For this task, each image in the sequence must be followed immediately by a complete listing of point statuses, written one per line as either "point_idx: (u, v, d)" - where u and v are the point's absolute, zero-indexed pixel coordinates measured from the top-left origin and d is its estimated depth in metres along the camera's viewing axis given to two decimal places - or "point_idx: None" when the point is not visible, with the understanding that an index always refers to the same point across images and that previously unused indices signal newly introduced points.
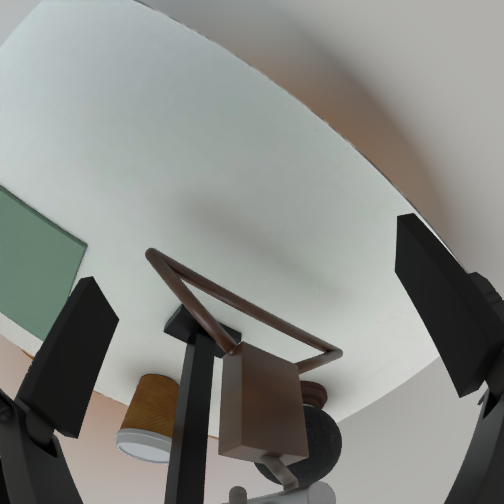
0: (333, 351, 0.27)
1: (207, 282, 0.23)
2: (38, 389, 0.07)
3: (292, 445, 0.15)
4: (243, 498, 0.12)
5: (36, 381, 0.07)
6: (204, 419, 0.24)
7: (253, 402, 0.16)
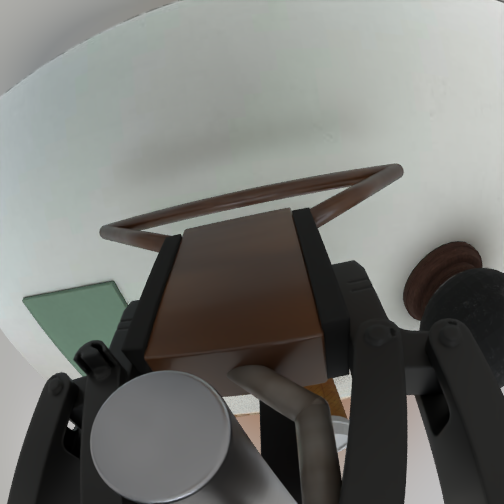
0: (380, 170, 0.17)
1: (161, 211, 0.19)
2: (148, 338, 0.09)
3: (268, 325, 0.08)
4: None
5: (146, 329, 0.09)
6: None
7: (182, 287, 0.10)
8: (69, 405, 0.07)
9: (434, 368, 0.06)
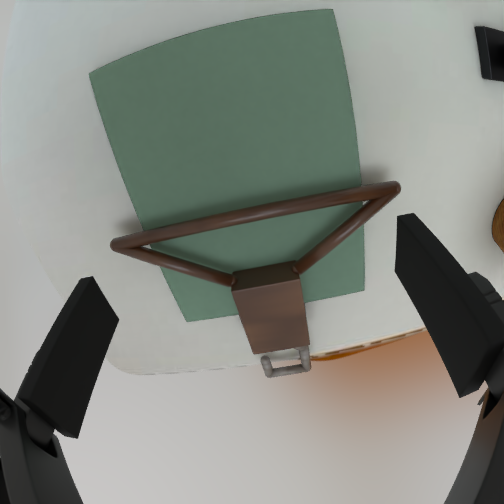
0: (378, 201, 0.19)
1: (172, 236, 0.20)
2: (38, 389, 0.07)
3: (293, 343, 0.25)
4: (266, 364, 0.28)
5: (36, 381, 0.07)
6: None
7: (254, 331, 0.24)
8: None
9: None
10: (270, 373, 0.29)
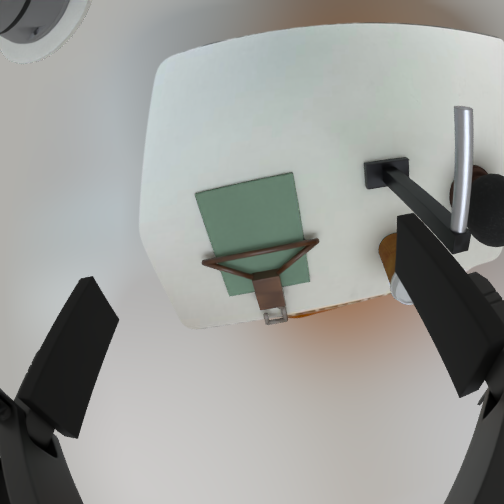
0: (309, 246, 0.52)
1: (230, 260, 0.53)
2: (38, 389, 0.07)
3: (278, 304, 0.58)
4: (266, 316, 0.61)
5: (36, 381, 0.07)
6: (423, 191, 0.36)
7: (261, 298, 0.57)
8: None
9: None
10: (268, 322, 0.62)
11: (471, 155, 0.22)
